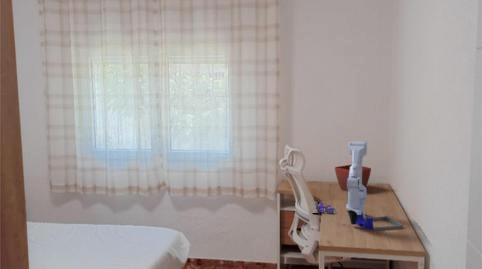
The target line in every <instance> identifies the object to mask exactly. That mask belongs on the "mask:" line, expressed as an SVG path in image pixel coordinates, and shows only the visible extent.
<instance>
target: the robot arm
mask: <svg viewBox="0 0 482 269" xmlns="http://www.w3.org/2000/svg"><path fill="white" fill-rule="evenodd" d="M348 152H349V155H350V156H351V158H352V159H351V160H352V163H351V165H352V166H350V171H349V178H348V179H347V187H348V191H347V192H348V193H347V199H348V200H347V203H346V205H345V206H346V207H345V209H346V212H347V215H348V217H349V221H350V224H351V225H357V224H356V222H357V218H358V216H359V215H361V213H363V218H368V217H367V215H365V202H366V201H367V197H368V196H367V195H368V191H367V186H366V187H365V186H363V185H362V166H363V159H364V157H366V156H367V154H368V142H367V141H349V142H348Z"/></svg>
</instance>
